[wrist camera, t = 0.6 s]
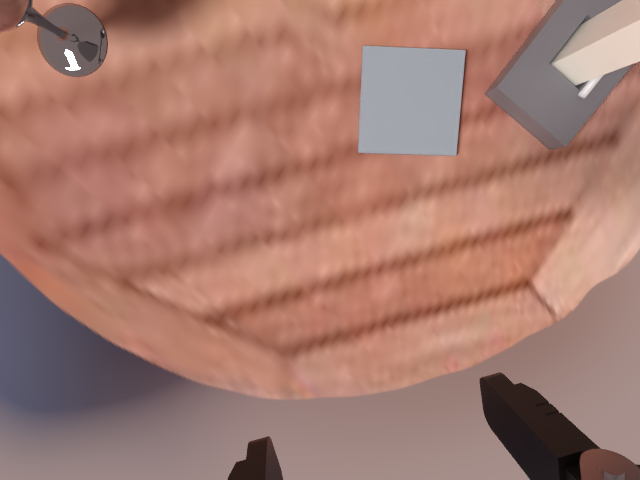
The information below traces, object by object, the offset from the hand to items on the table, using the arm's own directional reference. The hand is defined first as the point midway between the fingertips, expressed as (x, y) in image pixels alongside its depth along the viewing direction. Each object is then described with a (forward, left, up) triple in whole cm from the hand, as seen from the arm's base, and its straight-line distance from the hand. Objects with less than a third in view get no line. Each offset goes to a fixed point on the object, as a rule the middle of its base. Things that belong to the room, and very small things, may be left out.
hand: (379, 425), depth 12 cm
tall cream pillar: (-23, +25, -28) cm, 44 cm away
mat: (-18, +8, -28) cm, 34 cm away
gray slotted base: (-23, +25, -28) cm, 44 cm away
